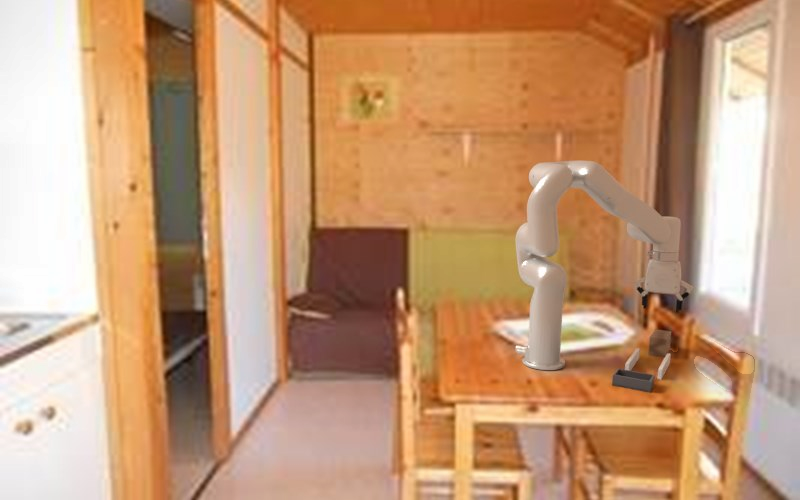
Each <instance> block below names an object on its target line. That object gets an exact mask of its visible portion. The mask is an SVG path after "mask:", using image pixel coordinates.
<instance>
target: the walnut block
mask: <svg viewBox="0 0 800 500" xmlns="http://www.w3.org/2000/svg"><path fill="white" fill-rule="evenodd" d="M671 339H672V331H669V330H663V329H654V330H653V332H652V333H651V335H650V336H649V343H648V352H647V353H648V356H653V357H659V358H663V359H664V358H665V356H666V355H667V353H669V351H670V350H671V342H672V340H671Z"/></svg>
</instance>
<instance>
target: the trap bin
mask: <svg viewBox="0 0 800 500" xmlns="http://www.w3.org/2000/svg"><path fill="white" fill-rule="evenodd" d="M655 376H656V375H655V374H652V373H646V372H639V371H635V370H631V371H630V370H625V368H616V370H615V371H614V373H613V374H612V379H611V381H612V382H611V385H612V386H616V387H619V388H624V389H630V390H635V391H640V392H641V391H642V392H647V393H651V391H652V390H653V388H654V386H655Z"/></svg>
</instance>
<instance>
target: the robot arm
mask: <svg viewBox="0 0 800 500" xmlns="http://www.w3.org/2000/svg"><path fill="white" fill-rule="evenodd" d="M528 181H529V183H530V185H531V186H532V188H533V189H532V191H531V193H530V195H529V196H528V200H527V203H526V204H527V205H526V218H527V219H526V220H527V222H524V223H522V224H521V225H520V226H519V228H518V229H517V230H516V234H515V240H514V242H515V251H516V252H515V253H516V261H517V270H518V274H519V277H520V279H521V280H522V282H524V283H525V284H526V285H528V286H529V287H532V288H533V293H532V296H531V299H530V304H529V321H528V322H529V323H528V324H529V326H528V345H526V346H523V345H518V344H516V345H515V349H514V350H515V352H516V354H519V355H523V356H522V363H523V364H524V366H527V367H529V368H531V369H534V370H535V369H536V370H540V371H556V370H560V369H562V368H564V367H565V366H566V360H565V359H564V358H562V357H561V346H562V342H561V341H562V327H563V307H564V297H565V293H566V289H567V284H568V276H567V273H566V270H565V269H564V267H563V266H562V265H560V264H559V263H558V262H555V261H552V260H551V259H547V258H551V257H553V256H555V255H556V254H557V253H558V251H559V248H560V235H559V226H558V225H559V223H558V204H559V202H560V200H561V198H562V197H563V196H564V194H565V193H567V191H568V190H570V189H581V190H582V191H584V192H585V193H586V194H587V195H589V197H590V198H591V199H592V200H594V201H595V202H596V203H597V204H598V205H599V206H600V208H602V209H603V210H604V211H605V212H607V213H608V214H610V215H612V216H613V217H616V218H618V219H621V220H624V221H626V222H627V225H626V232H627V234H628V236H630V238H632V239H633V240H635V241H640V242H643V243H644V242H645V243H649V244H651V245H652V249H651V250H650V251H647V256H649V257H651V259H648V263H647V268H646V274H645V277H641V278H639V279H636V280H635V281H634V282H633V283H634V287H636V290H637V291H638V293H639V294H640V296H641V306H643V309H644V310H646V309H647V308H648V305H649V303H648V302H649V295H648V293H653V294H654V293H655V294H665V295H675V296H676V298H677V300H676V303H675V305H676V306H675V313H676V314H680V311H682V309H683V300H684V299H686V298H688V297H689V296H690V295H691V292H692V291H693V289H694V286H693V285H691V284H689V283H688V282H686V281H684V280H682V266H681V261H679V250H680V239H681V223H682V222H681V219H680V218H679V217H675V216H668V215H667V216H662V215H661V214H660V213H659V212H658V211H657V210H656V209H654V208H653V207H652V206H651V205H649V204H647V202H645V201H643V200H642V199H640V198H639V197H638V196H636V195H635V194H633V193H632V192H631V191H629V190H627V188H625V187H624V186H623V185H622V184H621V183H620V182H619V181H618V180H617V179H616V178H615V177H614V176H613V175H612V174H611V173H609V171H607V170H606V168H605V167H603V166H602V165H601V164H599V163H598V162H596V161H593V160H580V159H578V160H565V161H551V162H550V161H549V162H547V161H545V162H539V163H537V164H535V165H533V167H532V168H531V169H530V171H529V174H528ZM641 283H642V284H643V283H644V288H643V287H642V286H641ZM682 287H683V288H685V289H686V291H685V292H684V293H682V292H681V289H682Z"/></svg>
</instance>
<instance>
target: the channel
mask: <svg viewBox="0 0 800 500" xmlns="http://www.w3.org/2000/svg"><path fill="white" fill-rule="evenodd" d="M671 356H672V355H671V353H669V352H668V353H667V355H666V356H665V358H664V357H663V360H662V361H661V364H660V365H659V367H658V369H657V378H656V379H657V380H661V381H662V379H663V377H664V375H665V373H666V372H667V369H668V368H669V366H670V364H671ZM639 359H640V348H639V347H638V348H637V347H636V348H635V350H634V351H633V352H632V354H631V355H630V356H629V358H628V359H627V361H626V362H625V363H624V370H630V371H632V369H633V368H634V366H635V365H636V364H637V362H638V361H639Z"/></svg>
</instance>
